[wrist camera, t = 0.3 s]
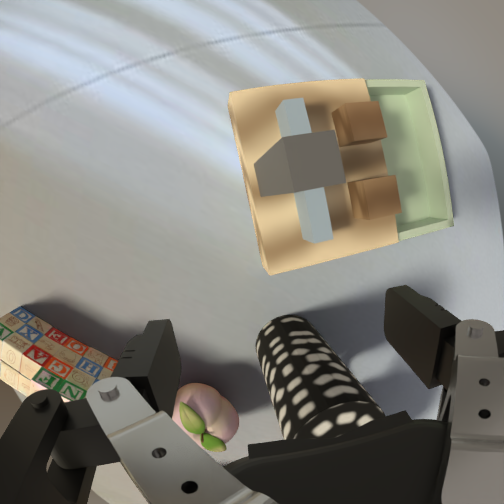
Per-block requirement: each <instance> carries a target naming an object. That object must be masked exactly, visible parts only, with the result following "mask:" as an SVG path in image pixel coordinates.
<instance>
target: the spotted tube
mask: <svg viewBox="0 0 504 504" xmlns="http://www.w3.org/2000/svg"><path fill="white" fill-rule="evenodd" d="M256 352H257V356H258V359H259V362H260V366H261V369H262V372H263V375H264V378H265V381H266V385H267V388H268V391H269V394H270V397H271V400H272V403H273V407H274V410H275V413H276V416H277V419H278V422H279V425H280V428H281V431H282V434H283V437H284V440H285V439H329V438H336V437H338V436H341V435H343V434H345V433H347V432H349V431H351V430H353V429H355V428H358V427H360V426H362V425H364V424H366V423H368V422H370V421H372V420H376V419H379V418H383V417H385V414H384V412H383V411H382V410H381V408H380V407H379V406H378V405H377V403H376V402H375V401H374V400H373V398H372V397H371V396H370V395H369V394H368V392H367V391H366V390H365V389H364V388H363V386H362V385H361V384H360V383H359V381H358V380H357V379H356V378H355V377H354V375H353V374H352V373H351V372H350V370H349V369H348V368H347V367H346V366H345V364H344V363H343V362H342V361H341V360H340V358H339V357H338V356H337V355H336V353H335V352H334V351H333V350H332V349H331V347H330V346H329V345H328V344H327V342H326V341H325V340H324V339H323V338H322V336H321V335H320V334H319V333H318V332H317V330H316V329H315V328H314V327H313V325H312V324H311V323H310V322H309V321H307V320H306V319H304V318H302V317H299V316H296V315H285V316H281V317H277V318H275V319H273V320H271V321H270V322H269V323H267V324H266V325H265V326H264V327H263V328H262V330H261V331H260V333H259V335H258V337H257V340H256Z"/></svg>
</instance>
